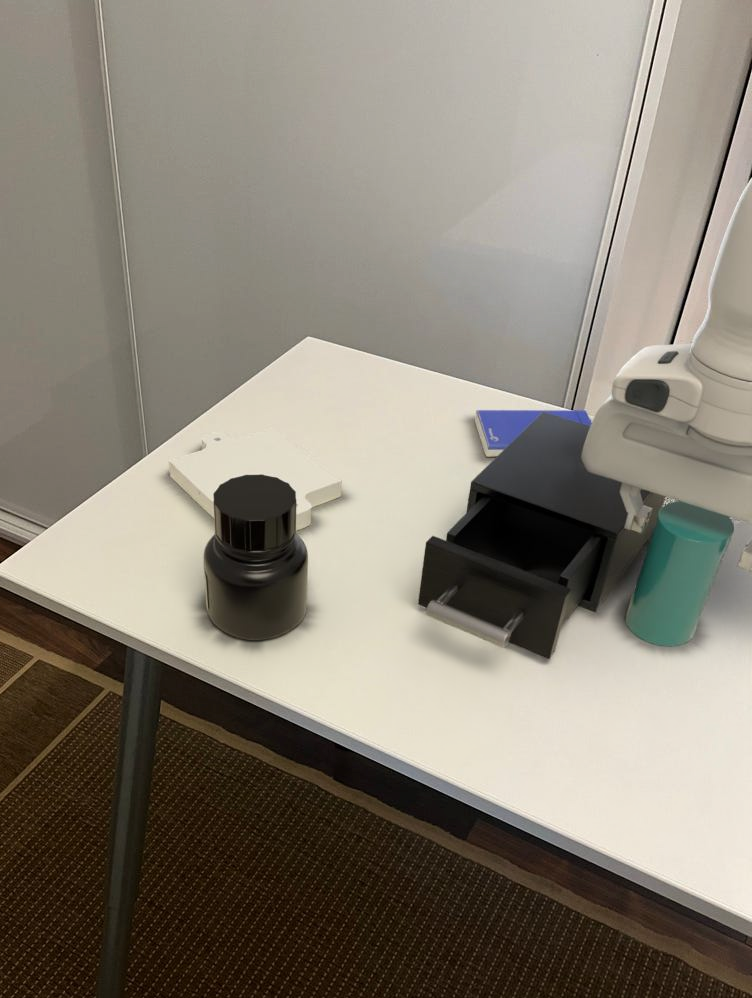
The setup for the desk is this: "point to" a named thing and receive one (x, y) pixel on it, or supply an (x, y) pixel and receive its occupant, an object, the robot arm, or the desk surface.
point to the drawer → (509, 574)
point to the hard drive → (513, 425)
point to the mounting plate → (255, 469)
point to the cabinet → (567, 493)
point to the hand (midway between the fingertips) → (690, 546)
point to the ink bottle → (255, 559)
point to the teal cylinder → (678, 573)
